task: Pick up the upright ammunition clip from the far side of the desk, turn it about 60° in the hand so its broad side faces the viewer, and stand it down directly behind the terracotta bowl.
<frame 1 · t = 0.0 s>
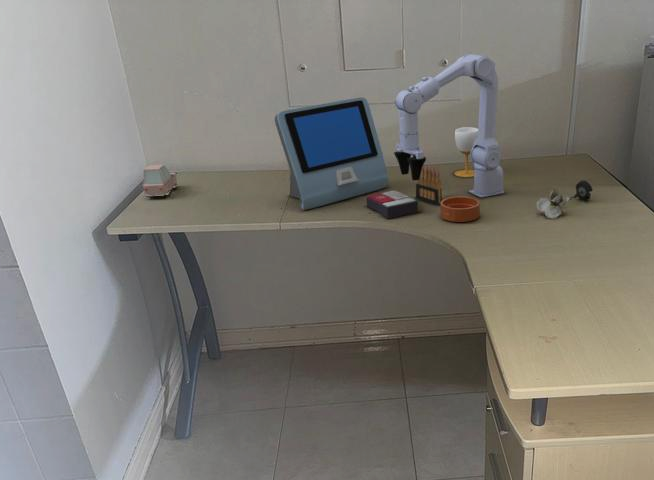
hand: (410, 176, 202), 10 cm above the table, tool pointing down, fingers open, 7 cm apart
toy car: (163, 193, 228), on the table
touchscreen device: (334, 194, 222), on the table
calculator: (392, 209, 206), on the table
bowl: (460, 216, 199), on the table
cup: (466, 174, 239), on the table
ammunition clip: (428, 201, 213), on the table
artificial flower: (565, 209, 202), on the table
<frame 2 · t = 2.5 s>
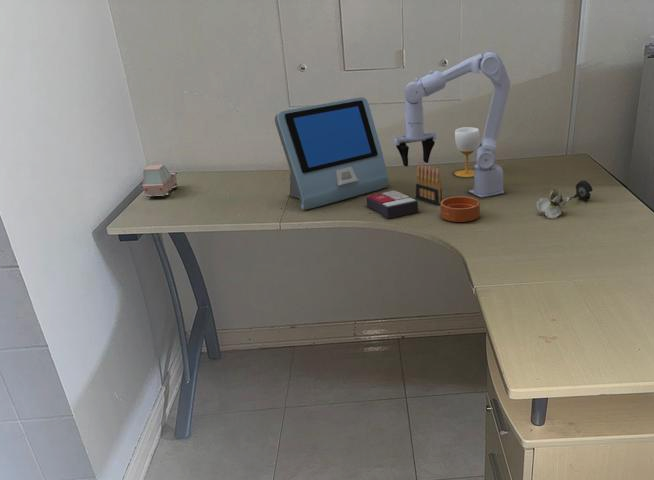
hand: (415, 163, 214), 10 cm above the table, tool pointing down, fingers open, 7 cm apart
nothing on the table moved.
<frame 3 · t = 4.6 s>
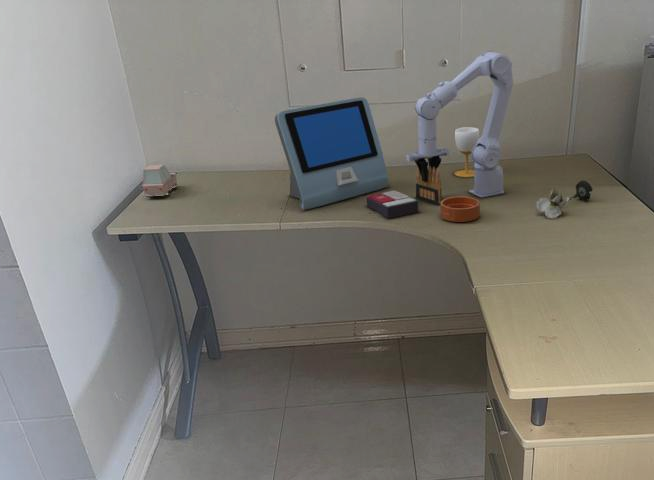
hand: (428, 180, 209), 7 cm above the table, tool pointing down, fingers closed on ammunition clip, 2 cm apart
ammunition clip: (428, 201, 213), on the table, touching gripper
everything else where it was.
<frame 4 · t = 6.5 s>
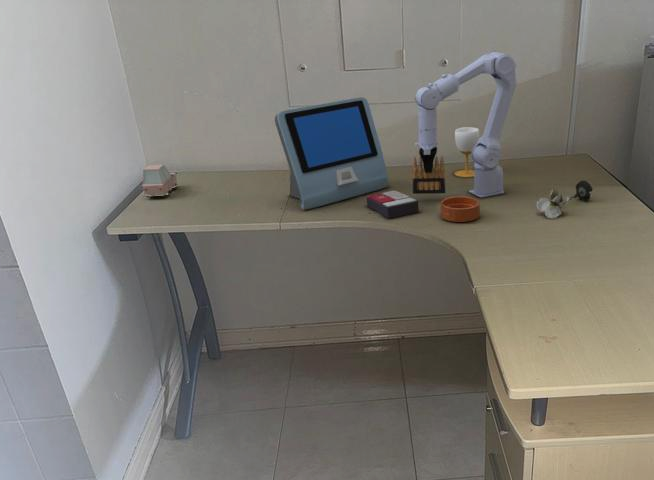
hand: (428, 171, 207), 10 cm above the table, tool pointing down, fingers closed on ammunition clip
ammunition clip: (429, 193, 211), point 3 cm above the table, touching gripper
everything else where it was.
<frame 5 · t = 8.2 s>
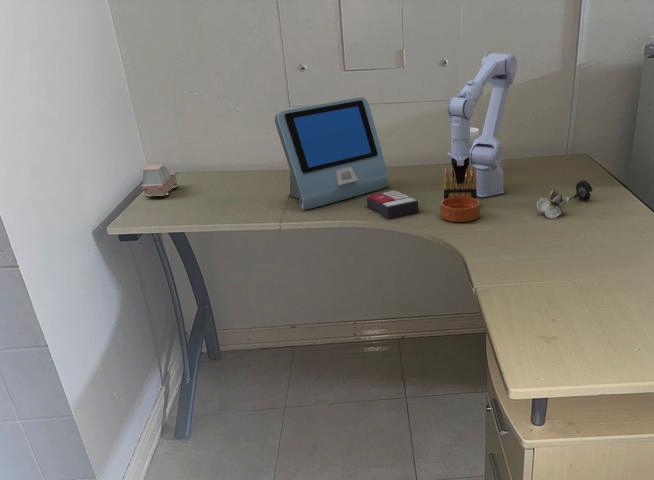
hand: (460, 182, 203), 8 cm above the table, tool pointing down, fingers closed on ammunition clip, 2 cm apart
ammunition clip: (460, 204, 206), point 1 cm above the table, touching gripper
everything else where it was.
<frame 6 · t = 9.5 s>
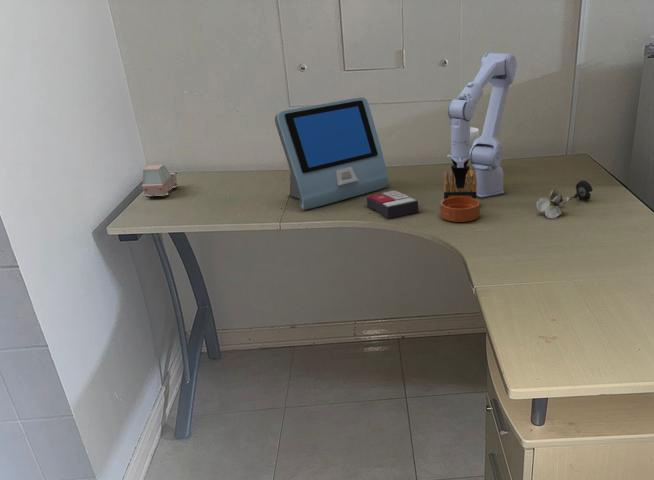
hand: (460, 184, 203), 7 cm above the table, tool pointing down, fingers open, 7 cm apart
ammunition clip: (460, 207, 207), on the table
everything else where it was.
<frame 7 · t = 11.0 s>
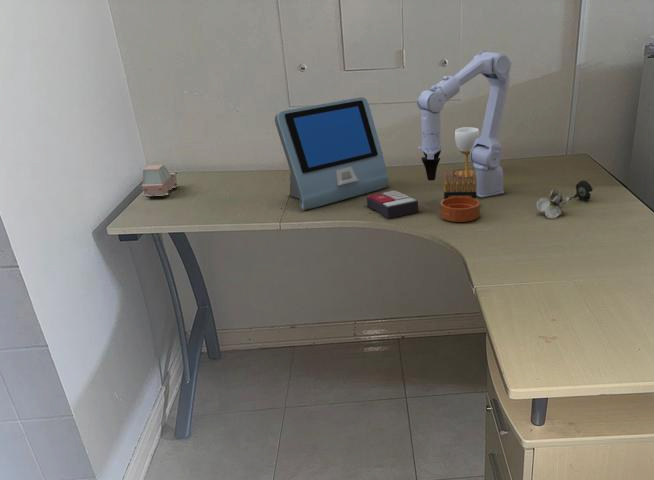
hand: (431, 176, 202), 10 cm above the table, tool pointing down, fingers open, 7 cm apart
nothing on the table moved.
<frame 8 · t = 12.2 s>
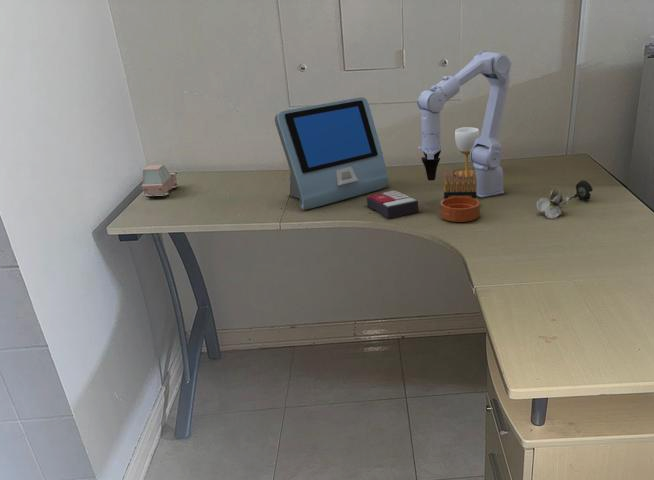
hand: (431, 176, 202), 10 cm above the table, tool pointing down, fingers open, 7 cm apart
nothing on the table moved.
at the end: ammunition clip 0.9 cm from the target spot on the table beside the bowl, on the table; the gripper is holding nothing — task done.
